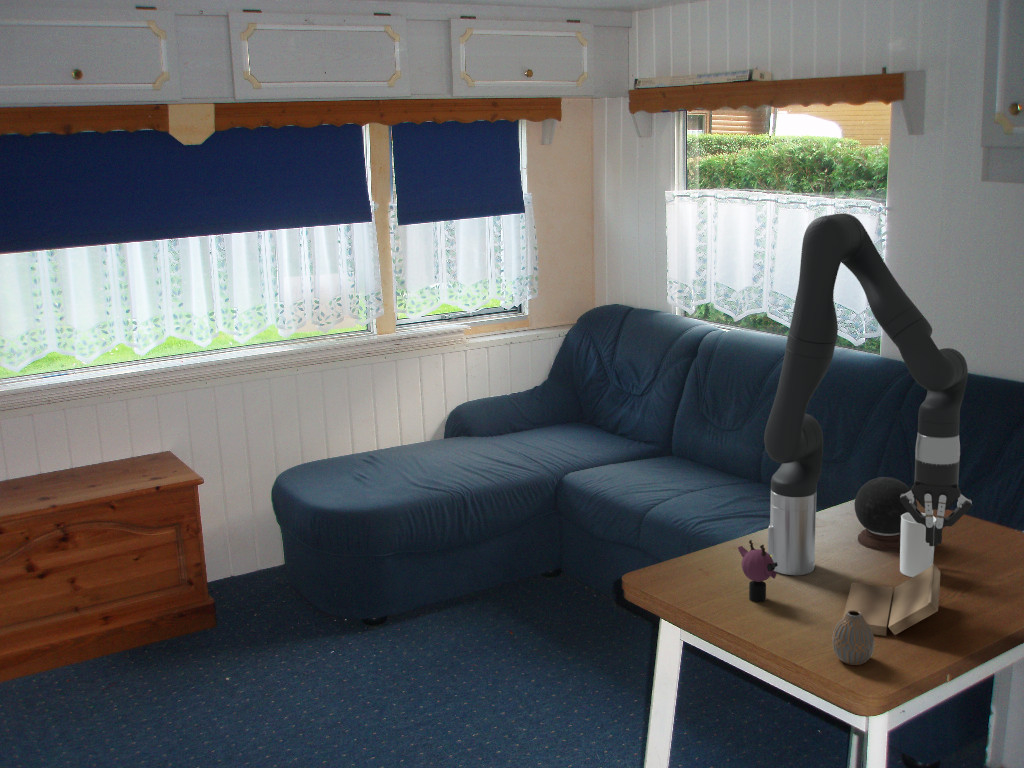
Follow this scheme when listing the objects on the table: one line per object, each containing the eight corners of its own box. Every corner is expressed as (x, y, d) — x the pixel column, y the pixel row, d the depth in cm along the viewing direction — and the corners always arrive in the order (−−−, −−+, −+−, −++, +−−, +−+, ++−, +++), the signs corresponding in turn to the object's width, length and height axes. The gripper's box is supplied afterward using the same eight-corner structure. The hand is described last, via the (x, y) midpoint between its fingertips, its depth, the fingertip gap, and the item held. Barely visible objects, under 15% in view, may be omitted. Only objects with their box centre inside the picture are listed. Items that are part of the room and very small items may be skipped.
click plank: (894, 635, 179) (887, 625, 180) (900, 595, 195) (894, 586, 196) (937, 611, 175) (930, 601, 176) (940, 572, 191) (933, 563, 191)
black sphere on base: (846, 547, 221) (849, 482, 218) (860, 527, 232) (863, 466, 229) (909, 557, 214) (912, 491, 211) (920, 536, 225) (923, 473, 222)
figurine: (776, 609, 192) (777, 551, 190) (734, 605, 195) (735, 548, 192) (778, 592, 200) (779, 536, 197) (737, 588, 202) (738, 533, 200)
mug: (923, 581, 202) (926, 526, 199) (892, 572, 207) (894, 518, 204) (946, 567, 208) (949, 513, 206) (915, 558, 213) (918, 505, 211)
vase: (880, 668, 169) (882, 620, 167) (841, 671, 169) (842, 623, 167) (863, 648, 176) (865, 602, 174) (825, 651, 175) (826, 605, 173)
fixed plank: (841, 629, 183) (842, 620, 183) (851, 590, 199) (852, 582, 199) (886, 635, 180) (886, 626, 180) (892, 595, 196) (893, 587, 196)
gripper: (897, 459, 183) (894, 548, 187) (976, 465, 178) (972, 556, 181) (900, 449, 190) (897, 534, 193) (976, 453, 184) (972, 542, 188)
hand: (933, 545), depth 187 cm, fingers closed
